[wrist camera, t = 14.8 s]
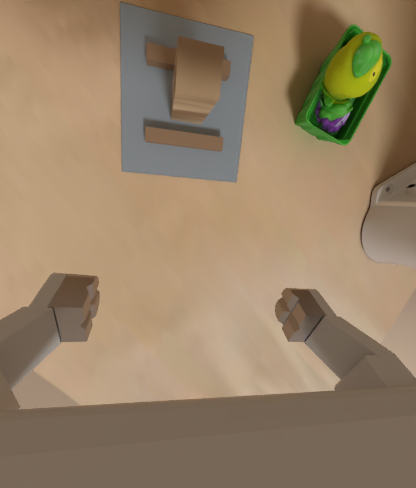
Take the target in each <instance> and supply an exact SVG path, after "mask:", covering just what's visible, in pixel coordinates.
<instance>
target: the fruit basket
mask: <svg viewBox="0 0 416 488" xmlns="http://www.w3.org/2000/svg"><path fill="white" fill-rule="evenodd" d="M391 62H392V61H391V57H390V55H389V54H388V53H387V52H385V51H384V50H383V49H382V41H381V39H380V37H379V36H378V35H376V34H374V33H371V32H364V31H363V30H361V29H360V28H359V27H358V26H357V25H351V26H349V28H348V29H347V30H346V32H345V33H344V34H343V36H342V38H341V40H340V41H339V43H338V44H337V45H336V46H335V48H334V49H333V50H332V52H331V53H330V54H329V55H328V57H327V58H326V59H325V61H324V62H323V64H322V66H321V68H320V71H319V75H318V76H317V77H316V79H315V81H314V83H313V85H312V87H311V91H310V93H309V95H308V96H307V98H306V100H305V102H304V104H303V106H302V110H301V112H300V113H299V114H298V116H297V118H296V120H295V124H296V125H297V126H301V127H302V129H303V130H305V131H307V132H308V133H310V134H311V135H314V136H316V137H317V139H319V140H324V141H330V142H335V143H337V144H340V145H347V144H348V143H349V142H350V141H351V139H352V137H353V135H354V133H355V132H356V130H357V128H358V126H359V124H360V122H361V120H362V118H363V116H364V115H365V113H366V111H367V109H368V107H369V105H370V104H371V102H372V100H373V98H374V96H375V94H376V92H377V91H378V89H379V87H380V85H381V83H382V81H383V79H384V78H385V76H386V74H387V72H388V70H389V69H390V66H391Z"/></svg>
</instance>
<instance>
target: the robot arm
mask: <svg viewBox="0 0 416 488" xmlns="http://www.w3.org/2000/svg"><path fill="white" fill-rule="evenodd" d="M362 244H363V248H364V251H365V252H366V254H367V255H368V257H369V258H370V259H372V260H373V261H375V262H378V263H386V264H395V265H402V266H407V267H412V268H416V162H415V163H414V164H412V165H410V166H409V167H407V168H405V169H404V170H402V171H400V172H399V173H397V174H395V175H394V176H392V177H390V178H389V179H387V180H385V181H384V182H382V183H380V184H379V185H377V186H376V187H375V188H374V189H373V192H372V196H371V206H370V209H369V211H368V214H367V216H366V218H365V221H364V224H363V229H362ZM98 285H99V280H98V277H97V276H89V275H78V274H62V273H53V274H51V275H50V276H49V278H48V279H47V280H46V282H45V283H44V285H43V286H42V288H41V289H40V291H39V292H38V294H37V295H36V297H35V298H34V300H33V301H32V303H31V304H30V306H29V307H22V308H21V309H19V310H17V311H15V312H14V313H12V314H10V315H8V316H7V317H5V318H3V319H1V320H0V488H416V378H415V377H414V376H413V375H412V374H411V372H410V371H409V370H408V369H407V368H406V367H405V365H404V364H403V363H402V362H401V361H400V360H399V358H398V357H397V356H396V355H395V354H394V353H392V352H391V351H389V350H388V349H387V348H385V347H384V346H382V345H381V344H379V343H378V342H376V341H375V340H373V339H372V338H370V337H369V336H368V335H366V334H365V333H363V332H362V331H360V330H359V329H357V328H356V327H354V326H353V325H351V324H350V323H348V322H347V321H346V320H344V319H343V318H341V317H337V316H336V314H335V313H334V312H333V310H332V309H331V308H330V306H329V305H328V304H327V302H326V301H325V300H324V298H323V297H322V296H321V294H320V293H319V292H318V291H317V290H315V289H297V288H286V289H284V290H283V292H282V298H281V299H279V300H278V301H277V303H276V305H275V313H276V317H277V319H278V321H280V322H281V323H282V324H283V327H282V330H283V332H284V334H285V336H286V338H287V340H288V342H305V344H306V345H307V346H308V347H309V348H310V349H311V350H312V351H313V352H314V353H315V354H316V355H317V356H318V357H319V358H320V359H321V360H322V361H323V362H324V363H325V364H326V365H327V366H328V367H329V368H330V369H331V370H332V371H333V372H334V373H335V374H336V375H337V376H338V377H339V378H340V379H341V380H340V381H339V382H338V383H337V384H336V385H335V388H334V389H335V391H320V392H303V393H286V394H269V395H252V396H235V397H219V398H202V399H185V400H169V401H152V402H135V403H119V404H102V405H85V406H68V407H52V408H35V409H19V408H20V405H19V403H18V401H17V399H16V398H15V396H14V394H13V392H12V390H11V389H12V388H13V387H14V386H16V385H17V384H18V383H19V382H20V381H21V380H22V379H23V378H24V377H25V376H26V375H27V374H28V373H30V372H31V371H32V370H33V369H34V368H35V367H36V366H37V365H38V364H39V363H40V362H41V361H42V360H44V359H45V358H46V357H47V356H48V355H49V354H50V353H51V352H52V351H53V350H54V349H55V348H56V347H58V346H59V345H60V344H61V342H82V341H87V340H88V337H89V334H90V331H91V328H92V318H94V317H95V316H96V314H97V310H98V306H99V299H100V293H99V291H98V290H97V287H98Z"/></svg>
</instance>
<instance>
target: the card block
mask: <svg viewBox="0 0 416 488" xmlns="http://www.w3.org/2000/svg"><path fill="white" fill-rule="evenodd" d="M223 57H224V46H219V45H215V44H211V43H207V42H202V41H198V40H194V39H190V38H185V37H181V36H178V42H177V50H176V58H175V67H174V75H173V83H172V105H171V120H175V121H182V122H188V123H195V124H202V122H203V121H204V120H205V118H206V117H207V116H208V114H209V113H210V111H211V110H212V109H213V107H214V106H215V104H216V103H217V102H218V100H219V99H220V89H221V78H222V68H223Z"/></svg>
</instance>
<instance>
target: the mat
mask: <svg viewBox="0 0 416 488" xmlns="http://www.w3.org/2000/svg"><path fill="white" fill-rule="evenodd" d="M178 36H181V37H185V38H190V39H194V40H198V41H202V42H207V43H211V44H215V45H219V46H224V57H223V68H222V78H221V89H220V99H219V100H218V102H217V103H216V104H215V106H214V107H213V109H212V110H211V111H210V113H209V114H208V116H207V117H206V118H205V120H204V121H203V122H202V124H195V123H188V122H182V121H175V120H171V105H172V83H173V75H174V67H175V58H176V50H177V42H178ZM253 38H254V36H252V35H248V34H244V33H240V32H236V31H232V30H228V29H224V28H220V27H216V26H212V25H209V24H205V23H201V22H197V21H193V20H189V19H185V18H181V17H177V16H173V15H169V14H165V13H161V12H157V11H153V10H149V9H145V8H141V7H138V6H134V5H130V4H126V3H122V2H120V40H121V127H122V171H125V172H135V173H145V174H155V175H166V176H176V177H186V178H197V179H207V180H217V181H227V182H236V181H237V173H238V164H239V156H240V148H241V139H242V131H243V122H244V114H245V105H246V97H247V88H248V80H249V72H250V63H251V55H252V46H253Z"/></svg>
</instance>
